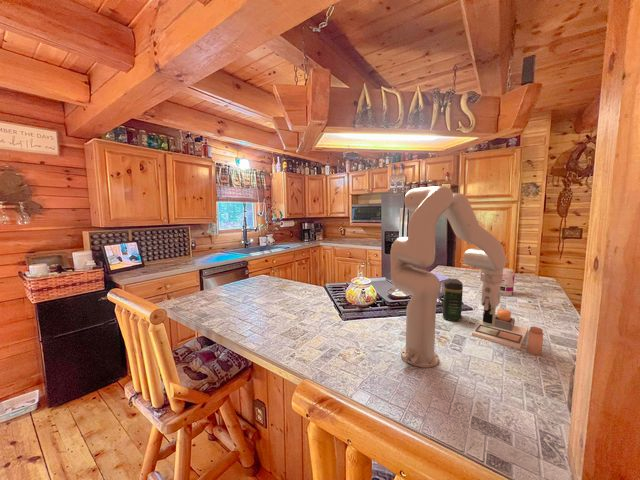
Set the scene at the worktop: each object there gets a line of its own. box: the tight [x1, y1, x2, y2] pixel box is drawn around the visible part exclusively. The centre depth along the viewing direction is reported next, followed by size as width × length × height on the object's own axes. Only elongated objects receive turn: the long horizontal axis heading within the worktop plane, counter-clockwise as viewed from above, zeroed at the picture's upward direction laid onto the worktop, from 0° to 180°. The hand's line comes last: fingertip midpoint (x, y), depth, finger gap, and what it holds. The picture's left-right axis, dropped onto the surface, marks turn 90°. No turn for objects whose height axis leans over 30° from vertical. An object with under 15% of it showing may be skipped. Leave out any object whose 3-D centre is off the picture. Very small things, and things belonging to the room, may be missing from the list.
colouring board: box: [471, 313, 529, 350], centre depth 110 cm, size 20×16×4 cm
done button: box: [496, 308, 512, 322], centre depth 113 cm, size 5×5×4 cm
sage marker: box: [483, 305, 497, 327], centre depth 108 cm, size 4×4×9 cm
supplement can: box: [500, 267, 516, 297], centre depth 156 cm, size 8×8×15 cm
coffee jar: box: [442, 277, 464, 322], centre depth 125 cm, size 10×8×19 cm
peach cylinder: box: [527, 326, 544, 356], centre depth 95 cm, size 4×4×9 cm
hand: (488, 320), depth 109 cm, fingers closed on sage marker, 4 cm apart
